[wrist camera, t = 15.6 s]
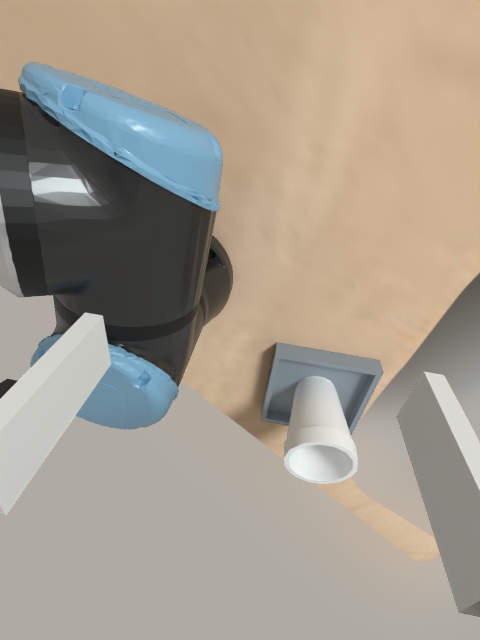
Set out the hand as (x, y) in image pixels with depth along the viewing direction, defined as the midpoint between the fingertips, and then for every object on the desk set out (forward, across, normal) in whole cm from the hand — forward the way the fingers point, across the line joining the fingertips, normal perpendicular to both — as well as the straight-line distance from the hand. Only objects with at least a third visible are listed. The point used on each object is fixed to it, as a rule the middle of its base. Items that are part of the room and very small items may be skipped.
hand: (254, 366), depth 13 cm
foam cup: (+28, +11, -29) cm, 42 cm away
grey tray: (+29, +11, -29) cm, 42 cm away
